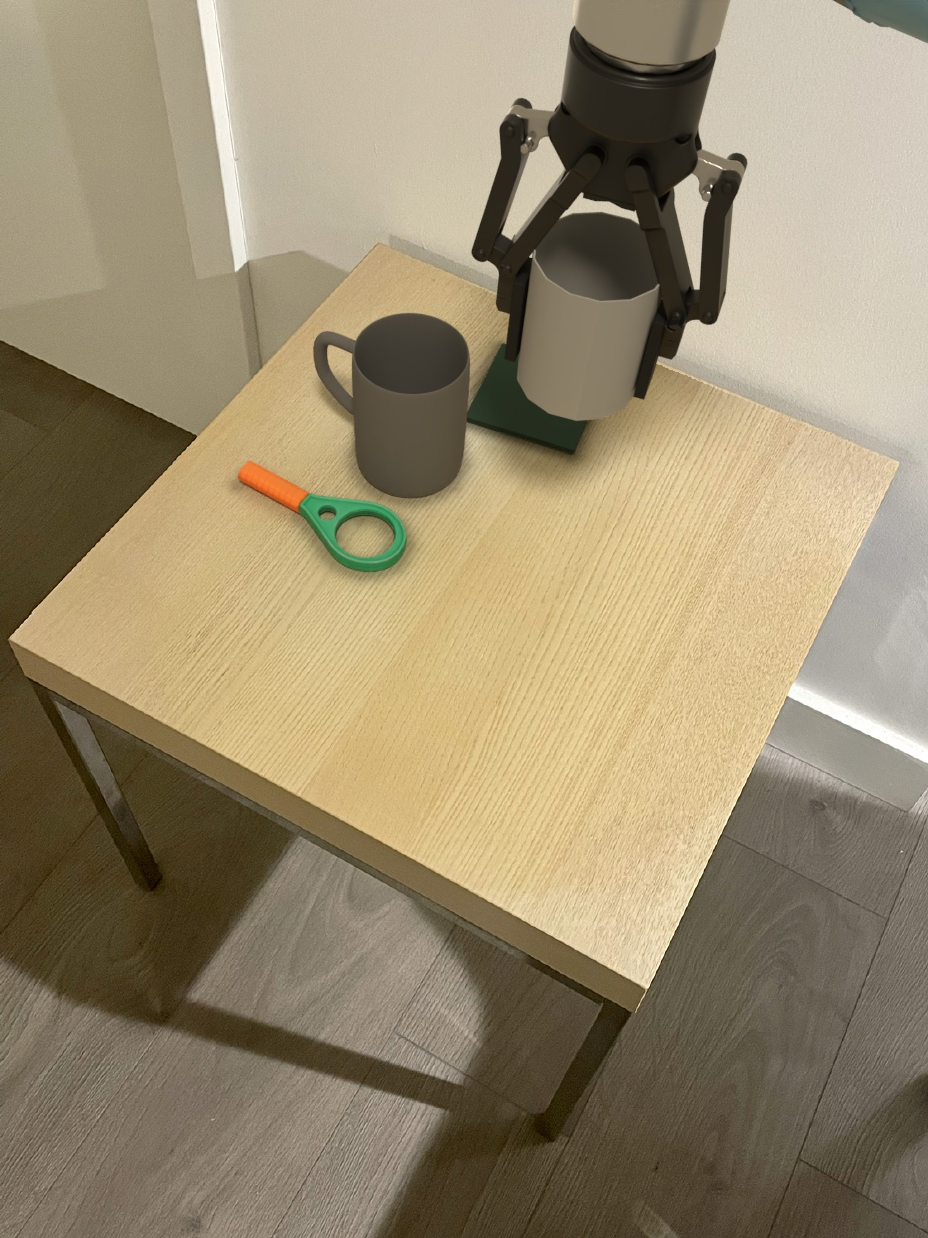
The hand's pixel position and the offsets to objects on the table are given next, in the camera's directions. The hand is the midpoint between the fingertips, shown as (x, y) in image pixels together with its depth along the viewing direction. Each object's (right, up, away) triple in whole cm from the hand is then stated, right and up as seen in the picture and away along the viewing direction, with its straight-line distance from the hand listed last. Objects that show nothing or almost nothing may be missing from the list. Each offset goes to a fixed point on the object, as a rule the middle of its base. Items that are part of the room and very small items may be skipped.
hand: (579, 365), depth 73 cm
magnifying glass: (-19, -9, +14) cm, 26 cm away
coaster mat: (-1, +2, +22) cm, 23 cm away
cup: (0, -1, +1) cm, 1 cm away
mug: (-14, -3, +19) cm, 24 cm away
